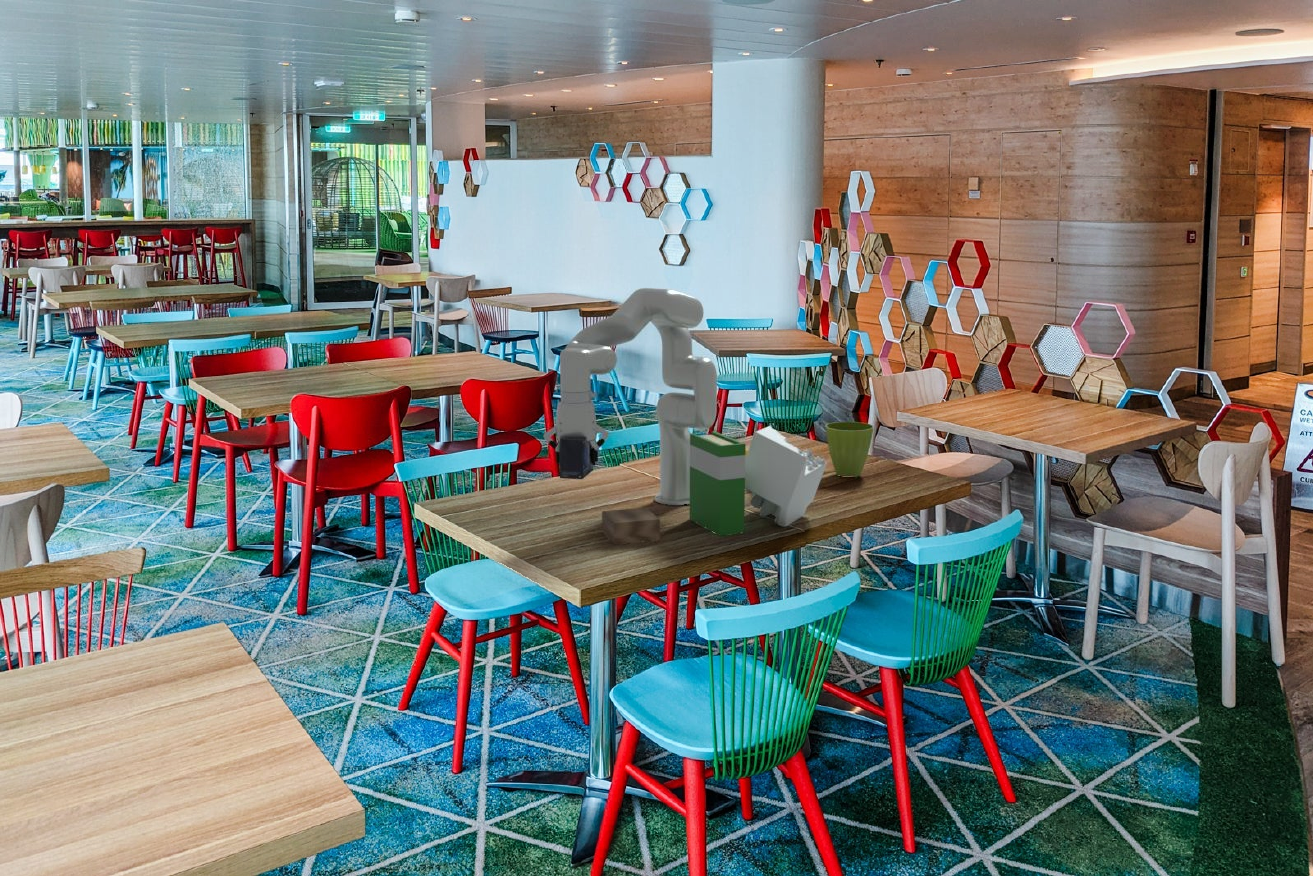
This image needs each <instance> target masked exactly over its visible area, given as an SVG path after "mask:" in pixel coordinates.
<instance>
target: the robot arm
mask: <svg viewBox="0 0 1313 876" xmlns="http://www.w3.org/2000/svg"><path fill="white" fill-rule="evenodd" d="M703 318H704V306H703V304H702V302H701V301H700V300H699V299H698V298H696V297H694V296H691V295H688V294H686V293H682V292H679V291H676V290H672V289H667V288H665V289H664V288H652V287H650V288H649V287H648V288H647V287H643V288H639V289H636V290H635V291H633V292H632V293H631V294H630V296H629V297H628V298H627V299H625V301H624V302H623V303H622V304H621V305H619V307H618V308H617V309H616V311H615V312H613V314H612V315H610V316H607V318H604V319H601V320H599V321H597V322H595V323H593V324H590V325H588V326H587V327H585V328H583V329H581V330H580V331H579V332H578V333H577V334H576V335H574V336H573V338H572V339H571V340H570V341H569V342H568V343H567V345H566V346H565V348H564V349H562V350H561V351H560V355H559V367H560V368H559V370H560V372H559V373H560V401H559V402H557V407H556V413H555V414H556V417H555V419H556V420H555V425H554V427H552V428H551V429H549V430H548V431H547V432H545V433H543V438H544V440H545V441H546V442H547V443H548V445H549V446H550V447H551V449H553V450H555V463H556V464H558V466H559V468H560V438H561V437H587V441H588V442H590V443H591V445H592V465H593V467H595V466H596V465H597V464H596V462H598V461H599V450H600V448H601V447H602V446H603V445H604V444H605V442H606V440H607V439H609V437H610V432H609V431H607V430H606V429H605V428H603V427H601V426H600V425H598V424H597V418H596V410H595V408H596V407H595V404H594V401H592V399H595V398H597V392H594V391H592V389H591V376H596V375H599V376H602V375H607V374H609V373H611V372H612V371H613V370H614V369H615V368H616V365H617V361H618V358H617V354H616V352H615V350H614V349H613V348H612V347H614V346H618V345H619V346H620V345H623V344H625V343H628V342H631V341H633V340H635V338H636V337H637V336H638V335H639V334H640V333H641V332H642V330H644V328H645V327H646V326H647V325H648V324H649V323H651V324H652V325H653V326H654V327H655V329H657V331H658V333H659V335H660V338H661V347H662V348H661V349H662V351H661V353H662V354H661V356H662V357H661V362H662V363H661V372H662V373H661V375H662V381H663V383H664V384H665V386H667V387H669V388H673V389H679V390H689V391H693V394H690V393H686V392H685V393H683V392H668V393H664V394H663V395H661V396H660V397H659V398H658V400H657V404H656V417H657V420H658V421H657V422H658V427H659V442H660V444H659V445H660V447H659V448H660V449H659V454H660V455H659V464H660V465H659V472H660V473H659V479H660V480H659V486H660V487H659V489H660V490H659V493H657V494H655V496H654V501H655V502H656V503H658V504H662V505H666V504H667V506H685V505H684V504H687V505H690V434H692V433H691V431H690V429H695V430H706V429H709V428H712V426H713V425H714V423H715V421H716V416H717V407H718V406H717V403H718V402H717V401H718V399H717V396H718V395H717V394H718V373H717V368H716V366H715V364H714V362H713V361H712V360H711V359H710V358H707V357H703V356H694V355H693V338H692V334H691V331H690V330H689V329H693V328H697V327H698V326H699V325H700V324H701V322H702V321H703ZM597 432H598V433H600V434H601V437H600V438H599V439H598V440H597V436H598V435H597V434H598V433H597ZM554 434H555V435H556V438H557V442H555V441H554V440H553V438H551V437H552V436H553V435H554ZM596 440H597V441H596Z"/></svg>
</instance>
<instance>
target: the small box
mask: <svg viewBox="0 0 1313 876" xmlns="http://www.w3.org/2000/svg"><path fill="white" fill-rule="evenodd" d="M593 471H594V466H593V465H592V445H591V443H590V442H588V441H587V437H561V438H560V467H559V479H569V480H583V479H585V478H586V477H587V476H588V475H590V473H592V472H593Z"/></svg>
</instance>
